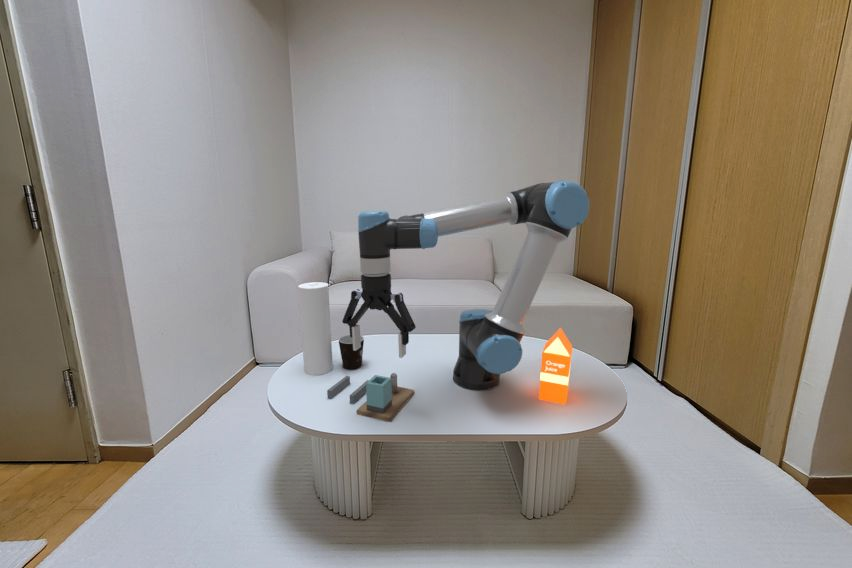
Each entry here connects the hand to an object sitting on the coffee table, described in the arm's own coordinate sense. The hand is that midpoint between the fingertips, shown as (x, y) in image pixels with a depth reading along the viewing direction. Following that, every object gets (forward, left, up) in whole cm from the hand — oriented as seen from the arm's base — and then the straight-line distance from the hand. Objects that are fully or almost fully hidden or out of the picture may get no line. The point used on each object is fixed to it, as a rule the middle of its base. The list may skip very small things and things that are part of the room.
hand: (379, 352), depth 99 cm
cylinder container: (+32, -15, -18) cm, 40 cm away
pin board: (0, -4, -17) cm, 18 cm away
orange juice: (-44, -27, -18) cm, 54 cm away
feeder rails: (+13, -5, -17) cm, 22 cm away
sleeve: (0, 0, -16) cm, 16 cm away
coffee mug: (+23, -20, -18) cm, 36 cm away
